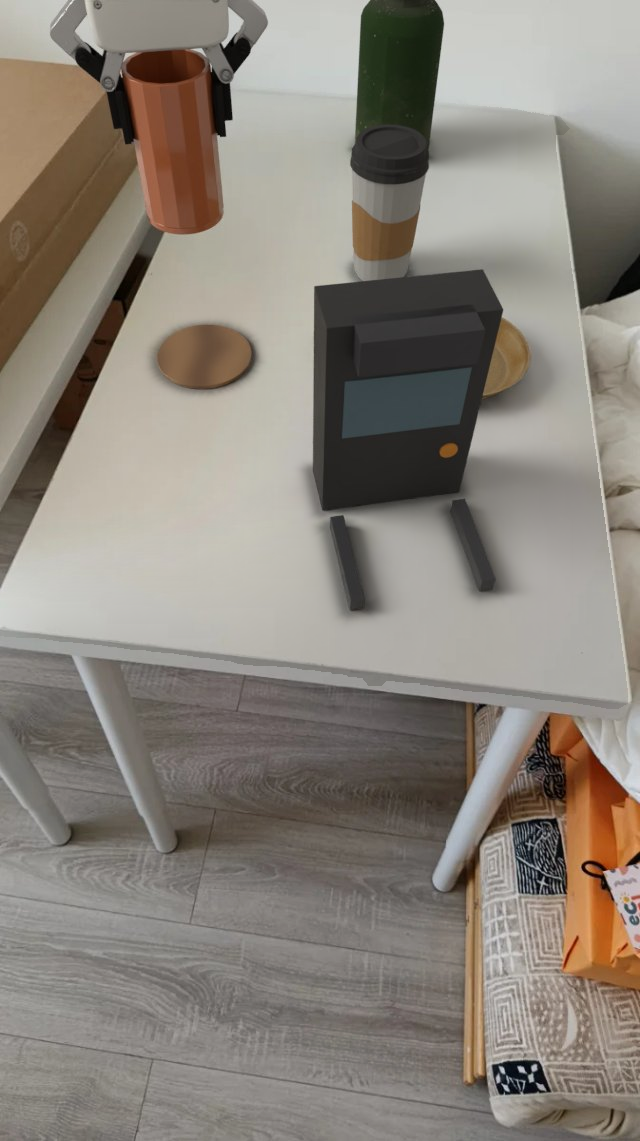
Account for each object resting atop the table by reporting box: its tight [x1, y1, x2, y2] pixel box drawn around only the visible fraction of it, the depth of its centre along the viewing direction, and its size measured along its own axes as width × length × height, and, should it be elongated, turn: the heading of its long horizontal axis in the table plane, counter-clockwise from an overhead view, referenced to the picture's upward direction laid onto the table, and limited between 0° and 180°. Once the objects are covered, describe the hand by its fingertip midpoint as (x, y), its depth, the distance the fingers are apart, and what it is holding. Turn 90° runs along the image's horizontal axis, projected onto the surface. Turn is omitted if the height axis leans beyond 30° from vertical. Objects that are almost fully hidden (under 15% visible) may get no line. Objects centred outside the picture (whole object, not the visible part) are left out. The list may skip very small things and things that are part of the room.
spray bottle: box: [354, 0, 445, 151], centre depth 98 cm, size 10×10×25 cm
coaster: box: [156, 324, 253, 390], centre depth 82 cm, size 10×10×1 cm
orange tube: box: [120, 49, 225, 236], centre depth 65 cm, size 7×7×12 cm
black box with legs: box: [312, 268, 504, 611], centre depth 61 cm, size 13×16×20 cm
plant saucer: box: [482, 317, 532, 400], centre depth 81 cm, size 15×15×3 cm
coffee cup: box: [349, 124, 430, 281], centre depth 86 cm, size 8×8×15 cm
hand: (174, 131), depth 64 cm, fingers closed on orange tube, 6 cm apart
